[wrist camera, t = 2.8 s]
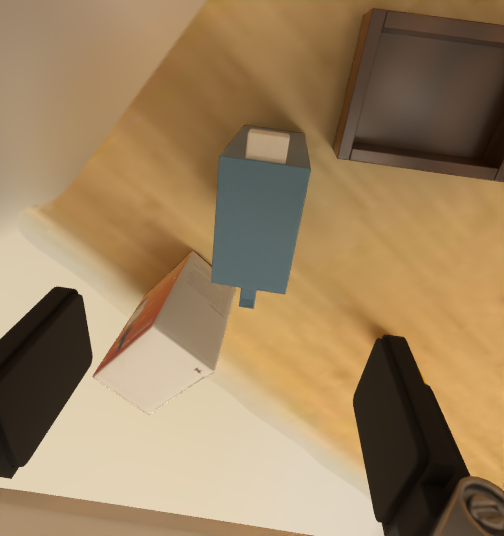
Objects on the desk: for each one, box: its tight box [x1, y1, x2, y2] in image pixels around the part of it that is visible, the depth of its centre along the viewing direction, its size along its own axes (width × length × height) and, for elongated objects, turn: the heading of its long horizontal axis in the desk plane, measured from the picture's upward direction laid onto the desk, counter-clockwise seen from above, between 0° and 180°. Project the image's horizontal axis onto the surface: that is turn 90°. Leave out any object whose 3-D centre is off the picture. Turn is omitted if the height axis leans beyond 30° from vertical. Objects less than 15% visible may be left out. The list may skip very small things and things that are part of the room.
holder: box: [333, 8, 504, 182], centre depth 22 cm, size 11×8×3 cm
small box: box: [93, 251, 236, 415], centre depth 29 cm, size 8×6×10 cm
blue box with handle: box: [211, 125, 311, 309], centre depth 23 cm, size 4×11×10 cm, turn 173°
